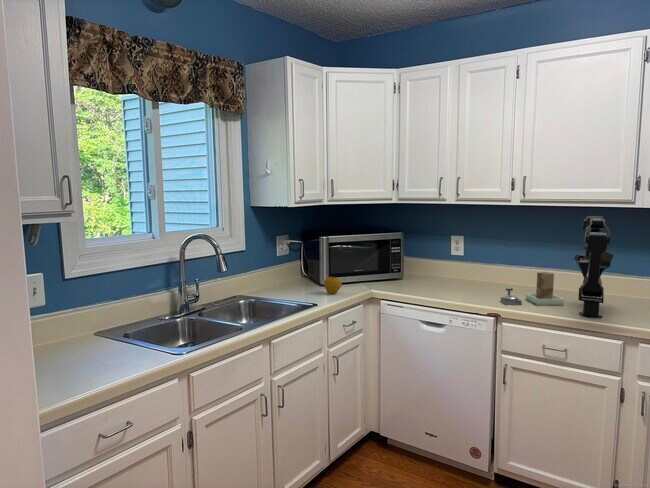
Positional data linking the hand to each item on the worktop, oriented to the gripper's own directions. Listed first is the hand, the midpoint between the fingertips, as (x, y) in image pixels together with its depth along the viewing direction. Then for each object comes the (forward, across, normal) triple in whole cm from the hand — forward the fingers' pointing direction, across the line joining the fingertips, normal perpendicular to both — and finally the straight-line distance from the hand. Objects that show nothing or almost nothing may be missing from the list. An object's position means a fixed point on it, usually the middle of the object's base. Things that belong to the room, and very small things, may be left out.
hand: (590, 279), depth 211 cm
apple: (+13, +31, +114) cm, 119 cm away
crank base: (+13, +10, +31) cm, 35 cm away
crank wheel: (+11, +10, +31) cm, 34 cm away
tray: (+13, +11, +15) cm, 23 cm away
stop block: (+12, +11, +15) cm, 22 cm away
